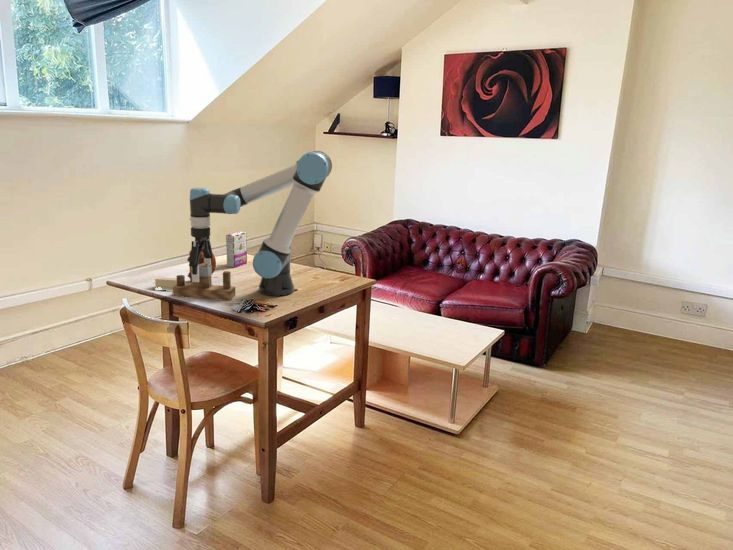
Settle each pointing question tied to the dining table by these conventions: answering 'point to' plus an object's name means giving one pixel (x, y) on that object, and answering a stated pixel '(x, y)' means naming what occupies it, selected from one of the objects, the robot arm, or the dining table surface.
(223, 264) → the dining table surface
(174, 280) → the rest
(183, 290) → the wooden peg board
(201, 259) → the mug
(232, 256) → the candy bar box
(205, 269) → the lever cap
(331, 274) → the dining table surface
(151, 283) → the dining table surface
